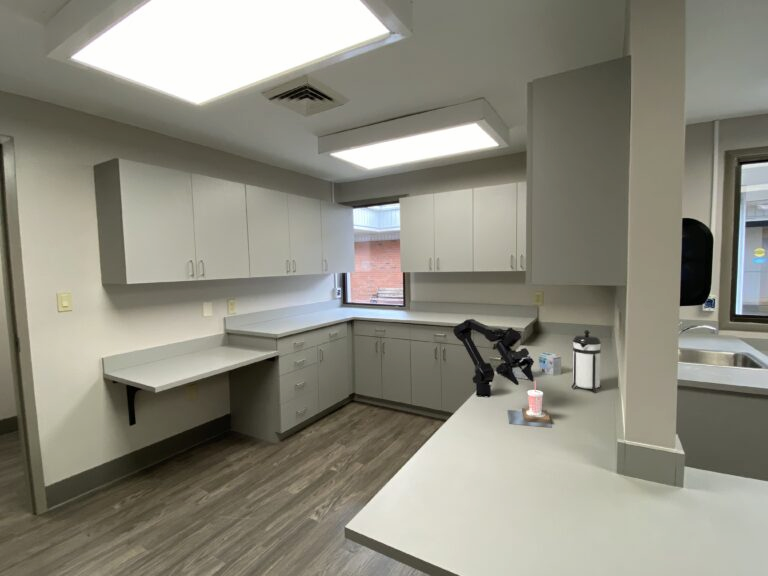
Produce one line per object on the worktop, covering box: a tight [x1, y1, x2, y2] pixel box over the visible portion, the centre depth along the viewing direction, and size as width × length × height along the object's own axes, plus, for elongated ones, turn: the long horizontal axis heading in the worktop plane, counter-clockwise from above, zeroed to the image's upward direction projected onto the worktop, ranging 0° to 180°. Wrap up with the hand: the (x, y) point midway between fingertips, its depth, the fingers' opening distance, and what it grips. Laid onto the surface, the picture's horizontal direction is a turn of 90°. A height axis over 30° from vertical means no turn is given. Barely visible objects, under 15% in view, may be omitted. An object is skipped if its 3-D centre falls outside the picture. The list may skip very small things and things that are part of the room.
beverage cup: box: [527, 379, 544, 415], centre depth 156 cm, size 6×6×14 cm
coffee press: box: [571, 329, 602, 394], centre depth 191 cm, size 17×16×30 cm
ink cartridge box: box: [513, 355, 531, 380], centre depth 210 cm, size 10×6×14 cm, turn 53°
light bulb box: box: [538, 351, 562, 377], centre depth 217 cm, size 11×7×11 cm, turn 25°
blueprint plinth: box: [507, 407, 552, 429], centre depth 157 cm, size 16×14×2 cm
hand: (525, 383), depth 161 cm, fingers open, 9 cm apart
